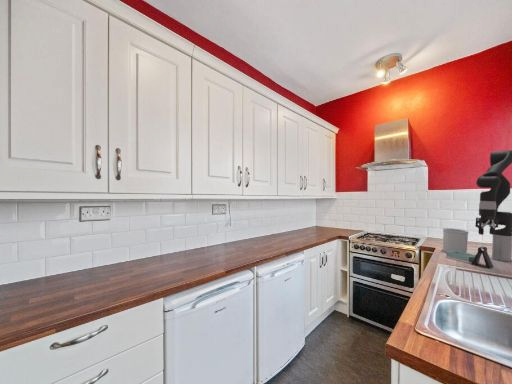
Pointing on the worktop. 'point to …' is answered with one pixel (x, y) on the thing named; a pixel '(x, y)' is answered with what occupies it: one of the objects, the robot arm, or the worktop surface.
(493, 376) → the worktop surface
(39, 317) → the worktop surface
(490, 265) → the black v-shaped piece
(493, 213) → the robot arm
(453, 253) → the socket base
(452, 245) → the utensil holder
